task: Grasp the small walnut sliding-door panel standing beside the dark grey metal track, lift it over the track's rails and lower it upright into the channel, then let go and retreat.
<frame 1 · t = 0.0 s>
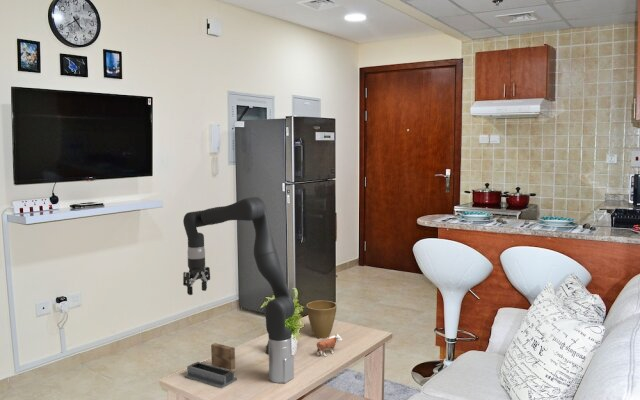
hand: (197, 292, 246), 29 cm above the table, fingers open, 8 cm apart
phone stand: (277, 353, 253), on the table
bull figurine: (328, 354, 251), on the table
door panel: (223, 366, 237), on the table
bottom track: (210, 378, 225), on the table
plant pot: (321, 336, 274), on the table
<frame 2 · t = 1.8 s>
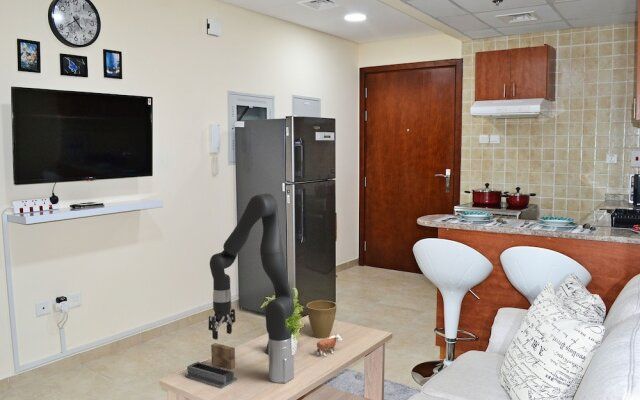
hand: (222, 336, 236), 13 cm above the table, fingers open, 8 cm apart
nothing on the table moved.
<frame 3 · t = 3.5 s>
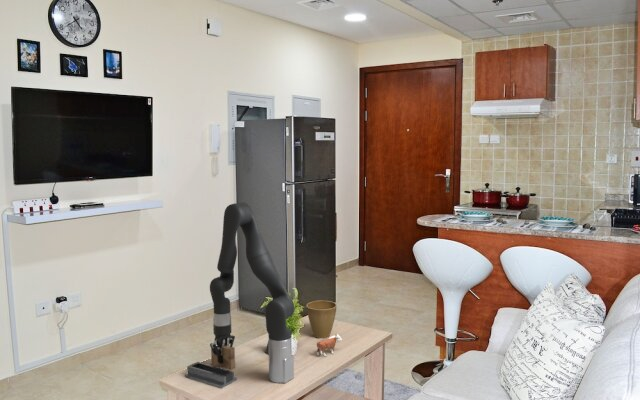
hand: (223, 361, 237), 2 cm above the table, fingers closed on door panel, 2 cm apart
door panel: (223, 366, 237), on the table, touching gripper
everything else where it was.
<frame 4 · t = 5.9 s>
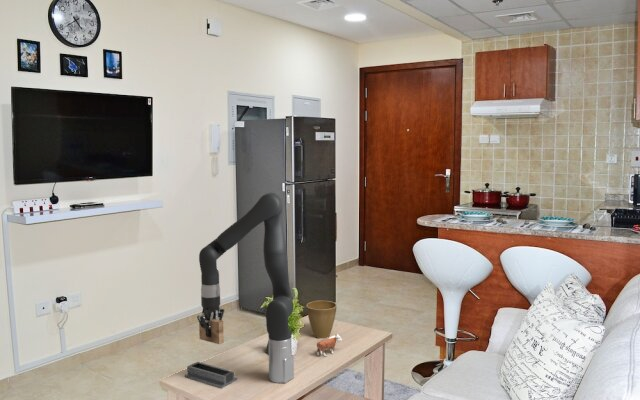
hand: (211, 335, 225), 17 cm above the table, fingers closed on door panel, 2 cm apart
door panel: (211, 340, 226), point 15 cm above the table, touching gripper
everything else where it was.
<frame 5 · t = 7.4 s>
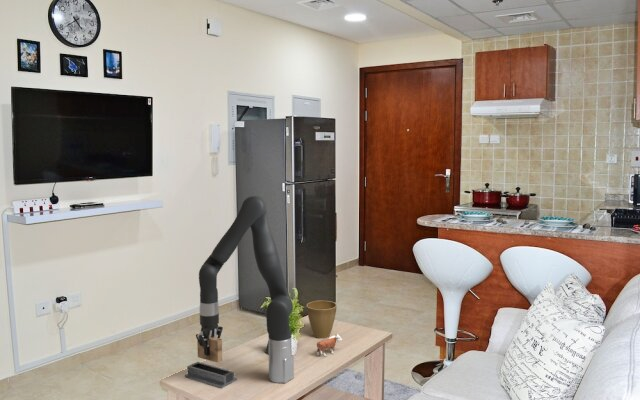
hand: (209, 354, 224), 10 cm above the table, fingers closed on door panel, 2 cm apart
door panel: (209, 358, 224), point 8 cm above the table, touching gripper
everything else where it was.
when the fingers open (6 cm above the table, at t = 8.5 s): door panel drops 2 cm, resting on bottom track.
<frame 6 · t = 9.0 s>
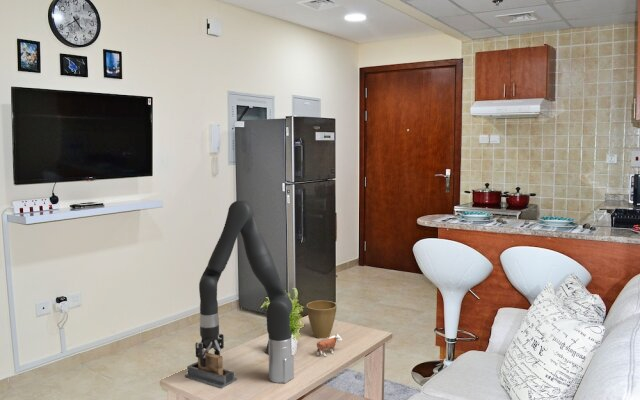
hand: (210, 363, 224), 6 cm above the table, fingers open, 7 cm apart
door panel: (210, 376, 225), point 1 cm above the table, touching bottom track
everything else where it was.
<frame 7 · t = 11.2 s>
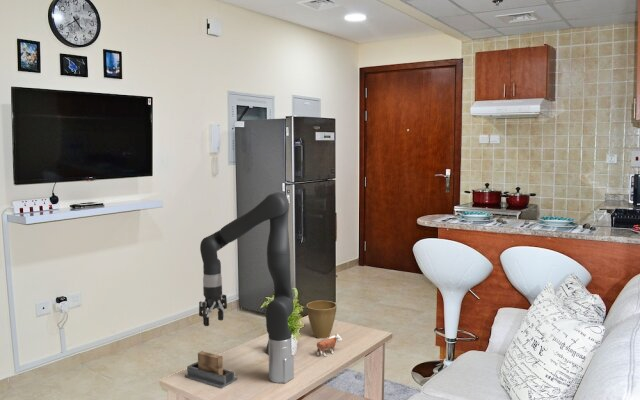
hand: (213, 322, 227), 22 cm above the table, fingers open, 8 cm apart
nothing on the table moved.
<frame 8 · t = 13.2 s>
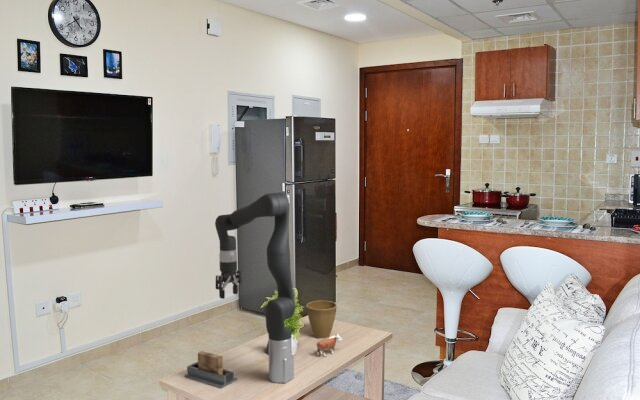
hand: (228, 296, 244), 28 cm above the table, fingers open, 8 cm apart
nothing on the table moved.
at the end: door panel inside the target area on the bottom track (0.1 cm from its centre), point 1.0 cm above the bottom track's base; door panel tilted 0°; the gripper is holding nothing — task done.
